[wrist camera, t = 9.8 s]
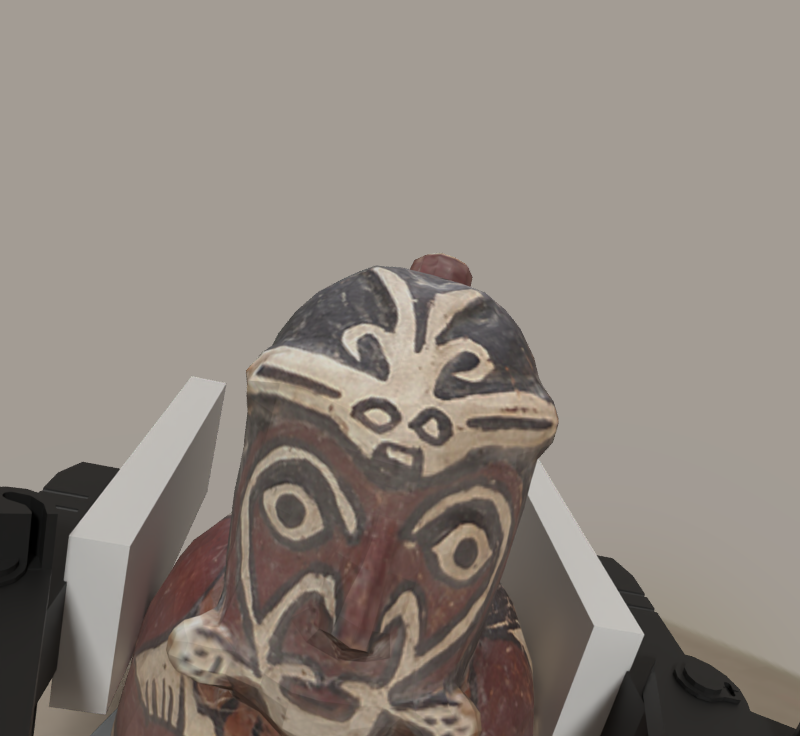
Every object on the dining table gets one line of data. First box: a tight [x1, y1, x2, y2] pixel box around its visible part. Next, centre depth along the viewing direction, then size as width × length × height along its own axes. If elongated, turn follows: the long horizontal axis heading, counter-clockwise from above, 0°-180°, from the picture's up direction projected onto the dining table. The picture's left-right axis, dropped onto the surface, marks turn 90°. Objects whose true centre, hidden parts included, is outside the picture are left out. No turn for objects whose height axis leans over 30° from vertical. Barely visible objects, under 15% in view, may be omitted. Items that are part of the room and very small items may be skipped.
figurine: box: [111, 253, 558, 736], centre depth 11 cm, size 7×7×12 cm
